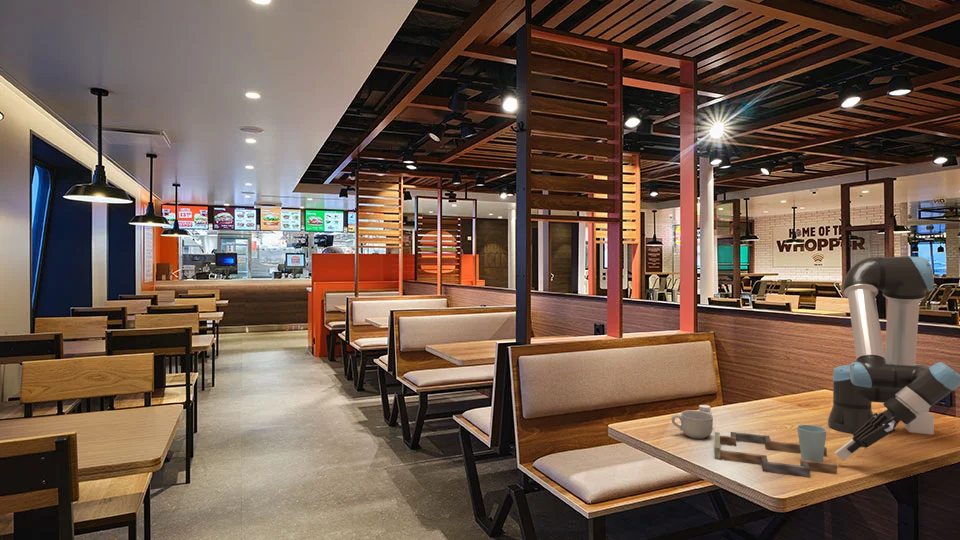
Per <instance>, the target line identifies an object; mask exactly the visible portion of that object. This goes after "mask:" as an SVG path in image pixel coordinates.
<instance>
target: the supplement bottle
mask: <svg viewBox="0 0 960 540" xmlns="http://www.w3.org/2000/svg"><path fill="white" fill-rule="evenodd" d="M698 409H699V410H698V411H703V412H706V413H709V414H711V415H712V416H713V414H712V413H713V412H712V411H711V409H712V408H711V406H710V405H707V404H700V405H699V406H698Z"/></svg>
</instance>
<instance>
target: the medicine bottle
mask: <svg viewBox="0 0 960 540" xmlns="http://www.w3.org/2000/svg"><path fill="white" fill-rule="evenodd" d="M916 416H917V417H916V419H914V420H913V421H912V422H910V423H909V424H905V423H903V422H902V423H903V428H904V429H905V430H906V431H907V432H908V433H909V434H910V433H912V434H922V435H931V436H932V435H935V427H934V424H935V423H934V422H935V420H934V414H932V413H931V412H929V411H928V412H926V411H925V412H923V413H922V414H921V415H918V414H916Z"/></svg>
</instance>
